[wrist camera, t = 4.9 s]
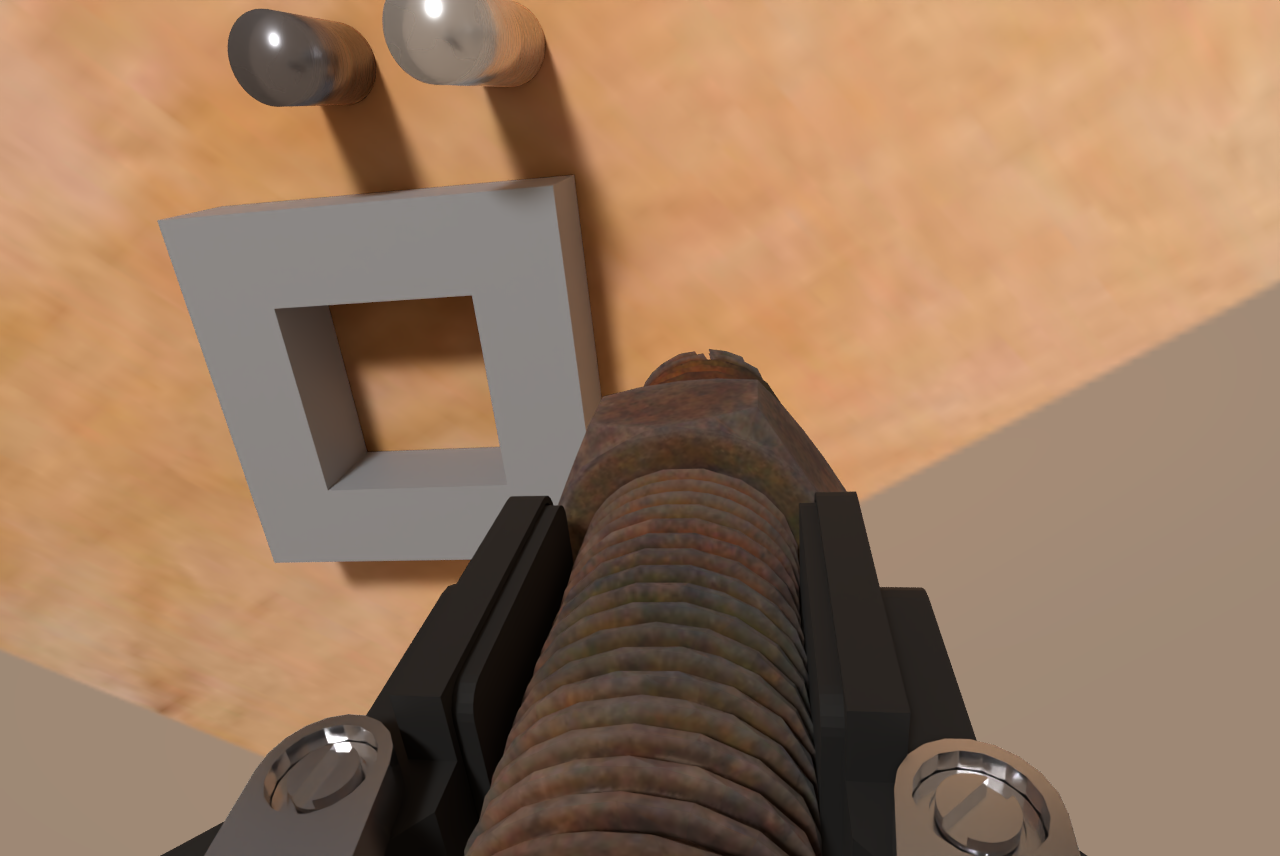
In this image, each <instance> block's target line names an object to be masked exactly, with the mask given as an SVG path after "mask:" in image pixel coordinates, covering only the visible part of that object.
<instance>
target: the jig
mask: <svg viewBox="0 0 1280 856" xmlns="http://www.w3.org/2000/svg"><path fill="white" fill-rule="evenodd" d="M158 224H159V227H160V230H161V232H162V235H163V238H164V241H165V244H166V247H167V250H168V253H169V256H170V259H171V262H172V265H173V267H174V270H175V273H176V276H177V279H178V282H179V285H180V288H181V291H182V294H183V297H184V300H185V302H186V305H187V308H188V311H189V314H190V317H191V320H192V323H193V326H194V329H195V332H196V335H197V337H198V340H199V343H200V346H201V349H202V352H203V355H204V358H205V361H206V364H207V367H208V370H209V372H210V375H211V378H212V381H213V384H214V387H215V390H216V393H217V396H218V399H219V402H220V405H221V407H222V410H223V413H224V416H225V419H226V422H227V425H228V428H229V431H230V434H231V437H232V440H233V442H234V445H235V448H236V451H237V454H238V457H239V460H240V463H241V466H242V469H243V472H244V475H245V477H246V480H247V483H248V486H249V489H250V492H251V495H252V498H253V501H254V504H255V507H256V510H257V512H258V515H259V518H260V521H261V524H262V527H263V530H264V533H265V536H266V539H267V542H268V545H269V547H270V550H271V553H272V556H273V559H274V562H275V563H280V562H344V561H408V560H471V559H472V557H473V556H474V554H475V552H476V551H477V549H478V547H479V546H480V544H481V543H482V541H483V539H484V538H485V536H486V534H487V533H488V531H489V529H490V528H491V526H492V524H493V523H494V521H495V519H496V518H497V516H498V514H499V513H500V511H501V510H502V508H503V506H504V505H505V503H506V501H507V500H508V499H509V497H511V496H549V497H550V498H551V500H552V502H553V505H558V503H559V500H560V498H561V495H562V492H563V490H564V487H565V484H566V482H567V479H568V476H569V474H570V471H571V468H572V466H573V463H574V461H575V458H576V456H577V453H578V451H579V448H580V446H581V443H582V441H583V438H584V435H585V433H586V430H587V428H588V425H589V423H590V421H591V419H592V417H593V415H594V413H595V411H596V409H597V407H598V405H599V404H600V402H601V400H602V397H601V389H600V381H599V373H598V365H597V357H596V349H595V340H594V332H593V324H592V316H591V308H590V300H589V292H588V283H587V275H586V267H585V259H584V251H583V243H582V235H581V227H580V218H579V210H578V202H577V194H576V186H575V178H574V175H567V176H555V177H544V178H533V179H522V180H511V181H500V182H489V183H478V184H467V185H456V186H445V187H433V188H422V189H411V190H400V191H389V192H378V193H367V194H356V195H345V196H334V197H323V198H311V199H300V200H289V201H278V202H267V203H256V204H245V205H234V206H223V207H217V208H212V209H208V210H203V211H199V212H194V213H190V214H185V215H180V216H176V217H171V218H167V219H162V220H158ZM469 295H472V299H473V304H474V310H475V315H476V320H477V326H478V331H479V336H480V342H481V347H482V352H483V358H484V363H485V369H486V374H487V379H488V385H489V390H490V395H491V401H492V406H493V411H494V417H495V422H496V428H497V433H498V438H499V444H500V447H486V448H459V449H433V450H406V451H380V452H367V449H366V445H365V441H364V438H363V434H362V430H361V426H360V423H359V419H358V415H357V411H356V408H355V404H354V400H353V396H352V392H351V389H350V385H349V381H348V377H347V374H346V370H345V366H344V362H343V359H342V355H341V351H340V347H339V344H338V340H337V336H336V332H335V328H334V325H333V321H332V317H331V313H330V310H329V306H328V305H337V304H352V303H367V302H381V301H396V300H411V299H425V298H440V297H455V296H469Z"/></svg>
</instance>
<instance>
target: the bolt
mask: <svg viewBox="0 0 1280 856" xmlns="http://www.w3.org/2000/svg"><path fill="white" fill-rule="evenodd" d="M709 351H710V353H709V355H710V359H711V360H707V359H706V357H705V356H704V354H698V355H697V354H696V353H695V352H689V353H682V354H679V355H677V356H675V357H674V358H672V359H670V360H668V361H666V362H665V363H663V364H662V365H660V366H659V367H658V368H657V369H656V370H655V371H654V372H653V373H652V374H651V375H650V377H649V378H648V379H647V381H646V382H645V385H644V387H640V388H636V389H632V390H628V391H624V392H619V393H615V394H611V395H607V396H603V398H602V400H601V402H600V404H599V405H598V407H597V409H596V411H595V413H594V415H593V417H592V419H591V421H590V423H589V425H588V428H587V430H586V433H585V435H584V438H583V441H582V443H581V446H580V448H579V451H578V453H577V456H576V458H575V461H574V463H573V466H572V468H571V471H570V474H569V476H568V479H567V482H566V484H565V487H564V490H563V492H562V495H561V498H560V500H559V503H558V505H562V506H563V507H564V509H565V512H566V516H567V523H568V529H569V536H570V542H571V549H572V555H573V562H574V566H573V568H572V571H571V574H570V579H569V582H568V586H567V588H566V589H565V592H564V595H563V599H562V603H561V606H560V610H559V612H558V614H557V616H556V617H555V619H554V621H553V623H552V629H551V631H550V633H549V635H548V637H547V639H546V641H545V643H544V646H543V648H542V650H541V654H540V657H539V659H538V661H537V663H536V665H535V669H534V673H533V677H532V679H531V681H530V683H529V685H528V686H527V689H526V691H525V694H524V696H523V698H522V703H521V707H520V708H519V710H518V712H517V715H516V717H515V719H514V722H513V726H512V729H511V731H510V733H509V736H508V739H507V743H506V747H505V751H504V754H503V757H502V758H501V760H500V762H499V763H498V765H497V767H496V769H495V772H494V774H493V777H492V782H491V787H490V790H489V791H488V793H487V794H486V796H485V798H484V803H483V807H482V811H481V815H480V819H479V822H478V824H477V825H476V827H475V829H474V830H473V832H472V834H471V836H470V837H469V839H468V842H467V845H466V847H465V850H464V856H822V843H821V835H820V831H821V822H820V816H819V811H818V785H817V780H816V775H815V746H814V744H813V721H812V719H811V707H810V702H809V676H808V673H807V655H806V652H805V642H804V635H803V632H802V628H801V616H800V545H799V503H814V494H815V492H847V491H846V490H845V488H844V487H843V485H842V484H841V482H840V481H839V479H838V478H837V476H836V475H835V473H834V472H833V470H832V469H831V467H830V466H829V464H828V463H827V461H826V460H825V458H824V457H823V456H822V454H821V453H820V452H819V450H818V449H817V448H816V446H815V445H814V444H813V442H812V441H811V440H810V438H809V437H808V436H807V434H806V433H805V432H804V430H803V429H802V428H801V427H800V426H799V424H798V423H797V422H796V421H795V420H794V418H793V417H792V416H791V415H790V414H789V412H788V411H787V410H786V409H785V408H784V406H783V405H782V404H781V403H780V401H779V400H778V398H777V397H776V395H775V394H774V392H773V391H772V389H771V388H770V386H769V385H768V383H766V382H765V381H764V380H763V379H762V377H761V375H760V373H759V371H758V369H757V368H755V367H753V366H751V365H750V364H748V363H746V362H744V360H743V357H741V356H738V355H735V354H732V353H730V352H727V351H720V350H712V349H709Z"/></svg>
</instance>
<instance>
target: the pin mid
mask: <svg viewBox="0 0 1280 856" xmlns="http://www.w3.org/2000/svg"><path fill="white" fill-rule="evenodd" d="M383 31H384V36H385V40H386V43H387V46H388V48H389V50H390V52H391V54H392V56H393V58H394V59H395V61H396V62H397V63H398V64H399V66H400V67H401V68H402V69H403V70H404V71H405V72H406V73H408V74H409V75H410V76H412V77H413V78H415V79H417V80H419V81H422V82H424V83H428V84H435V85H462V86H493V87H516V86H520V85H523V84H525V83H527V82H528V81H530V80H531V79H532V78H533V77H534V76H535V75H536V74H537V72H538V71H539V69H540V68H541V65H542V63H543V60H544V55H545V38H544V33H543V30H542V28H541V25H540V23H539V21H538V20H537V18H536V17H535V16H534V14H533V13H532V12H531V11H530V10H529V9H527V8H526V7H525V6H523V5H521V4H519V3H517V2H514V1H512V0H386V1H385V4H384V9H383Z"/></svg>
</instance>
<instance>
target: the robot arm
mask: <svg viewBox="0 0 1280 856" xmlns="http://www.w3.org/2000/svg"><path fill="white" fill-rule="evenodd" d="M799 545H800V616H801V628H802V632H803V635H804V642H805V652H806V655H807V673H808V676H809V702H810V707H811V719H812V721H813V744H814V746H815V775H816V780H817V785H818V811H819V816H820V822H821V831H820V835H821V843H822V856H1087V855H1085V854H1084V853H1082V852H1081V851H1079V848H1078V845H1077V842H1076V837H1075V834H1074V831H1073V827H1072V823H1071V820H1070V816H1069V813H1068V811H1067V809H1066V807H1065V805H1064V803H1063V801H1062V799H1061V796H1060V794H1059V792H1058V791H1057V790H1056V789H1055V788H1054V787H1053V786H1052V784H1051V783H1050V782H1049V781H1048V780H1047V779H1046V777H1045V776H1044V775H1043V774H1042V773H1041V772H1040V771H1038V770H1037V769H1036V768H1034V767H1033V766H1032V765H1030V764H1029V763H1028V762H1026V761H1025V760H1023V759H1022V758H1021V757H1019V756H1017V755H1015V754H1013V753H1011V752H1009V751H1006V750H1004V749H1002V748H1000V747H998V746H996V745H992V744H988V743H984V742H980V741H977V740H976V737H975V734H974V732H973V728H972V725H971V722H970V720H969V716H968V713H967V711H966V708H965V705H964V701H963V699H962V696H961V693H960V690H959V687H958V684H957V681H956V678H955V675H954V672H953V669H952V666H951V663H950V660H949V657H948V654H947V651H946V648H945V645H944V642H943V639H942V636H941V633H940V630H939V627H938V624H937V621H936V618H935V615H934V612H933V609H932V606H931V603H930V601H929V597H928V595H927V593H926V591H925V590H924V589H923V588H907V587H906V588H903V587H899V588H898V587H895V588H894V587H879V583H878V579H877V574H876V570H875V567H874V562H873V558H872V554H871V550H870V546H869V542H868V537H867V533H866V529H865V525H864V521H863V517H862V513H861V509H860V505H859V501H858V497H857V493H856V492H815V494H814V503H799ZM573 566H574V562H573V555H572V549H571V542H570V536H569V529H568V523H567V516H566V512H565V509H564V507H563V506H562V505H553V502H552V500H551V498H550V497H549V496H511V497H509V499H508V500H507V501H506V503H505V505H504V506H503V508H502V510H501V511H500V513H499V514H498V516H497V518H496V519H495V521H494V523H493V524H492V526H491V528H490V529H489V531H488V533H487V534H486V536H485V538H484V539H483V541H482V543H481V544H480V546H479V547H478V549H477V551H476V552H475V554H474V556H473V557H472V559H471V561H470V562H469V564H468V566H467V567H466V569H465V571H464V572H463V574H462V575H461V577H460V579H459V580H458V582H457V584H453V585H451V586H448V587H447V588H446V590H445V591H444V592H443V593H442V595H441V596H440V598H439V599H438V601H437V603H436V604H435V606H434V607H433V609H432V611H431V612H430V614H429V615H428V617H427V619H426V620H425V622H424V624H423V625H422V627H421V628H420V630H419V632H418V633H417V635H416V636H415V638H414V640H413V641H412V643H411V644H410V646H409V648H408V649H407V651H406V652H405V654H404V656H403V657H402V659H401V660H400V662H399V664H398V665H397V667H396V668H395V670H394V672H393V673H392V675H391V676H390V678H389V680H388V681H387V683H386V685H385V686H384V688H383V689H382V691H381V693H380V694H379V696H378V697H377V699H376V701H375V702H374V704H373V705H372V707H371V709H370V710H369V712H368V713H367V715H366V716H365V715H350V714H347V715H341V716H336V717H330V718H326V719H323V720H321V721H318V722H315V723H313V724H310V725H307V726H305V727H304V728H302V729H300V730H299V731H297V732H295V733H293V734H292V735H290V736H288V737H287V738H285V739H284V740H283V741H282V742H281V743H280V744H278V745H277V746H276V747H275V748H274V749H273V750H271V751H270V752H269V753H268V754H267V755H266V757H265V758H264V759H263V761H262V762H261V763H260V764H259V766H258V767H257V768H256V770H255V771H254V773H253V774H252V776H251V778H250V780H249V781H248V783H247V785H246V786H245V788H244V790H243V791H242V793H241V795H240V797H239V798H238V800H237V801H236V803H235V805H234V806H233V808H232V810H231V811H230V813H229V815H228V817H227V818H226V820H225V821H224V822H222V823H221V824H219V825H217V826H215V827H213V828H211V829H210V830H208V831H206V832H204V833H202V834H200V835H198V836H196V837H195V838H193V839H191V840H189V841H187V842H185V843H183V844H182V845H180V846H178V847H176V848H174V849H172V850H170V851H169V852H167V853H165V854H163V855H161V856H464V850H465V847H466V845H467V842H468V839H469V837H470V836H471V834H472V832H473V830H474V829H475V827H476V825H477V824H478V822H479V819H480V815H481V811H482V807H483V803H484V798H485V796H486V794H487V793H488V791H489V790H490V787H491V782H492V777H493V774H494V772H495V769H496V767H497V765H498V763H499V762H500V760H501V758H502V757H503V754H504V751H505V747H506V743H507V739H508V736H509V733H510V731H511V729H512V726H513V722H514V719H515V717H516V715H517V712H518V710H519V708H520V707H521V703H522V698H523V696H524V694H525V691H526V689H527V686H528V685H529V683H530V681H531V679H532V677H533V673H534V669H535V665H536V663H537V661H538V659H539V657H540V654H541V650H542V648H543V646H544V643H545V641H546V639H547V637H548V635H549V633H550V631H551V629H552V623H553V621H554V619H555V617H556V616H557V614H558V612H559V610H560V606H561V603H562V599H563V595H564V592H565V589H566V588H567V586H568V582H569V579H570V574H571V571H572V568H573Z"/></svg>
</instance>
